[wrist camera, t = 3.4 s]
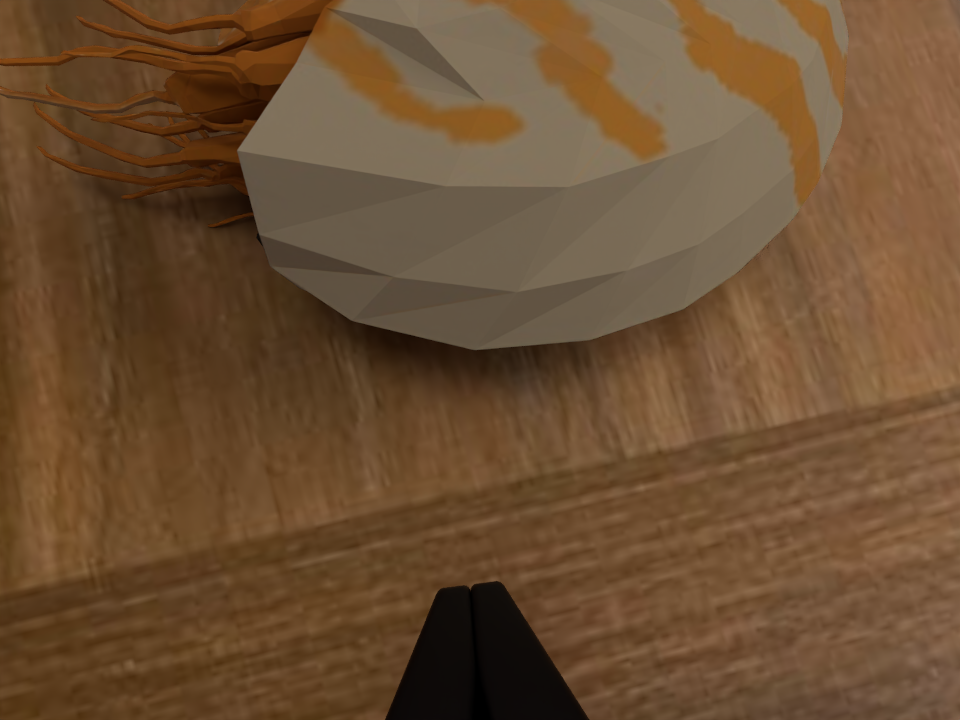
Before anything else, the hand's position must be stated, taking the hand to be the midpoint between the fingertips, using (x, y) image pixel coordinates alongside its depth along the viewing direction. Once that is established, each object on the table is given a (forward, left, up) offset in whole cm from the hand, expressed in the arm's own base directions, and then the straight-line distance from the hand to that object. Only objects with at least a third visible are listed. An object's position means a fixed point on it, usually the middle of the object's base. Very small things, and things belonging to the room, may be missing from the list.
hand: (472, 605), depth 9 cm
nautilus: (+12, +1, -9) cm, 16 cm away
